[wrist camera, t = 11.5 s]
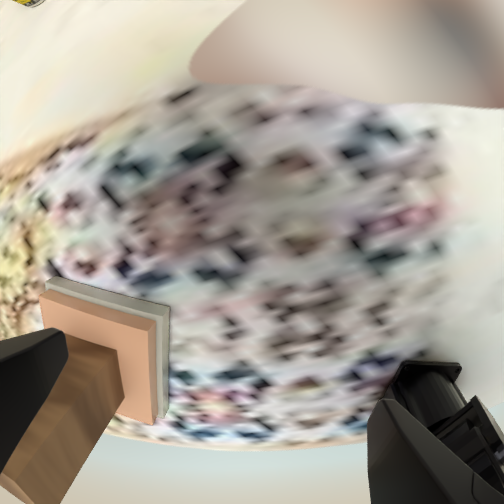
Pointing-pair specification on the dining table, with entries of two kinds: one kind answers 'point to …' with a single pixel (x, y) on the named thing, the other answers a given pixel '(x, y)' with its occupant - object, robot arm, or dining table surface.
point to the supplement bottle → (29, 2)
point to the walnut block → (66, 425)
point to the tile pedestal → (117, 339)
